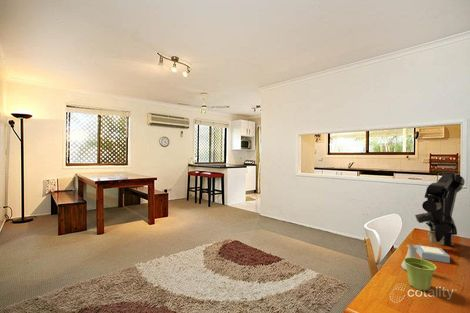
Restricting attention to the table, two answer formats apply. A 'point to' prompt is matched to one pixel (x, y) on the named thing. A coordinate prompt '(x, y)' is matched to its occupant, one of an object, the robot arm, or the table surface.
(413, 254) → the flask
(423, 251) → the plinth
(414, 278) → the plant pot
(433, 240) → the walnut block
